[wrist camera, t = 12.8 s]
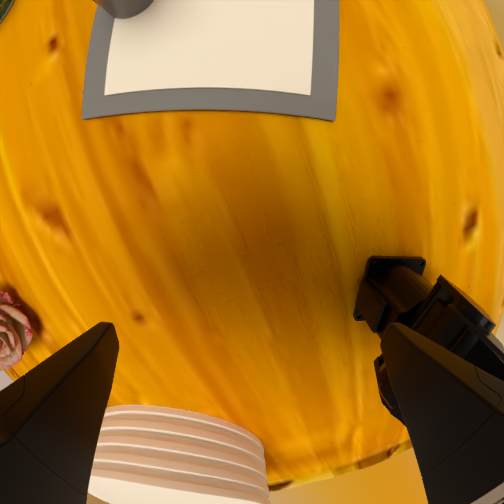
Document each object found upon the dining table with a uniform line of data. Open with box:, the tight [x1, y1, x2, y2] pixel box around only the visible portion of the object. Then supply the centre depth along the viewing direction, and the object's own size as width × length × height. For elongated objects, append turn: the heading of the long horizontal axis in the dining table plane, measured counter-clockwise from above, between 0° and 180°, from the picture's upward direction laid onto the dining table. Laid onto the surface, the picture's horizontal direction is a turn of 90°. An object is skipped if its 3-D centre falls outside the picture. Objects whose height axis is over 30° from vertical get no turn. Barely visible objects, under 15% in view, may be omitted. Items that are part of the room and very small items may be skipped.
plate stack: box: [88, 405, 270, 504], centre depth 29 cm, size 28×28×12 cm
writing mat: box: [82, 0, 339, 121], centre depth 14 cm, size 18×13×1 cm
